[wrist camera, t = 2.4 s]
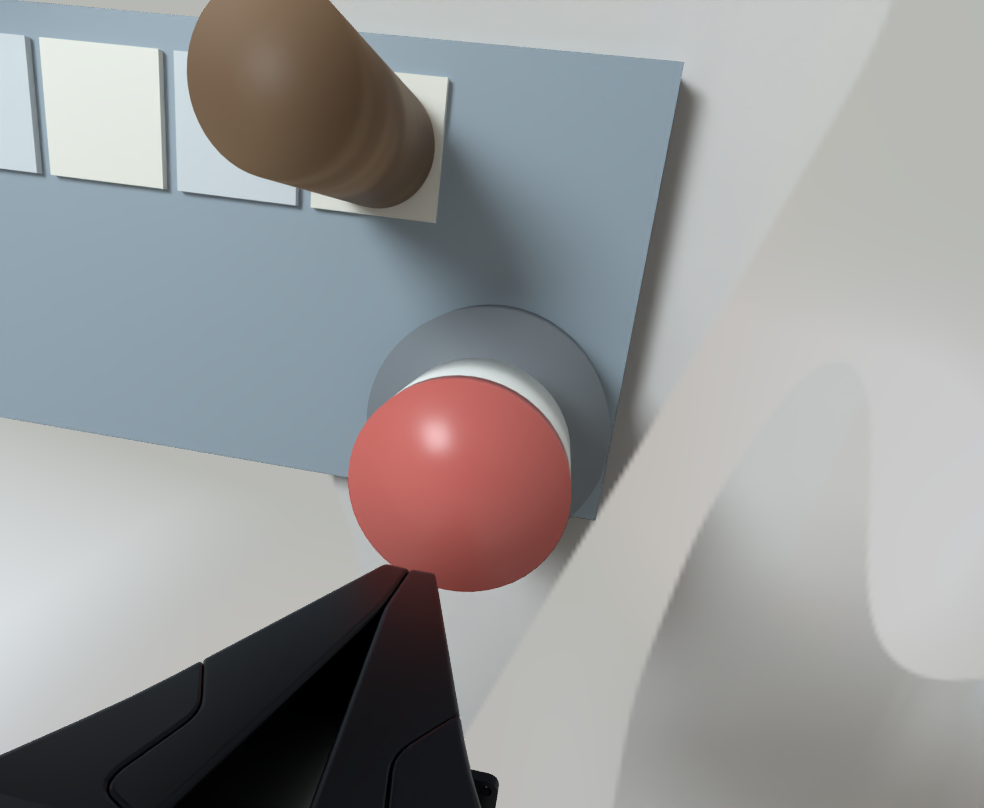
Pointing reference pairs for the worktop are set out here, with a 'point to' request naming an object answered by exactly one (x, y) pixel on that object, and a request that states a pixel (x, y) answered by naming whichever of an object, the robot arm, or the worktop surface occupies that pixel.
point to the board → (313, 245)
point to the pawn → (306, 102)
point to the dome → (464, 475)
